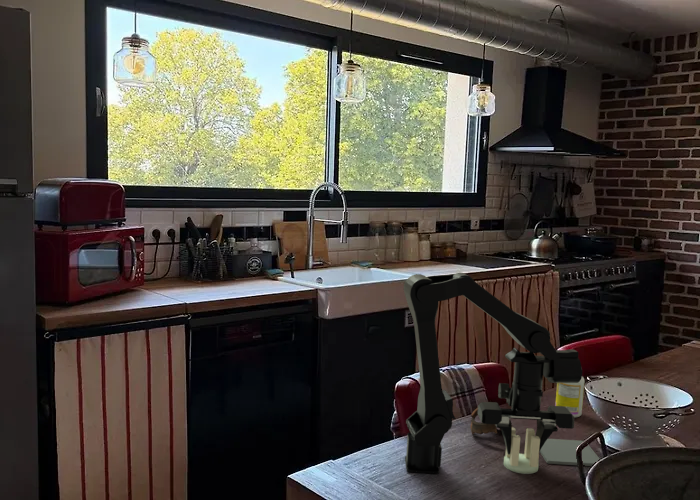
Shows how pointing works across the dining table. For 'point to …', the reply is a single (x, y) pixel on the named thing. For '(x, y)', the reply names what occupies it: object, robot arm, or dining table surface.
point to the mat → (566, 452)
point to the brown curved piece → (482, 425)
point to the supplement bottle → (571, 396)
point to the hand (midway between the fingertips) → (521, 454)
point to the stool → (525, 461)
